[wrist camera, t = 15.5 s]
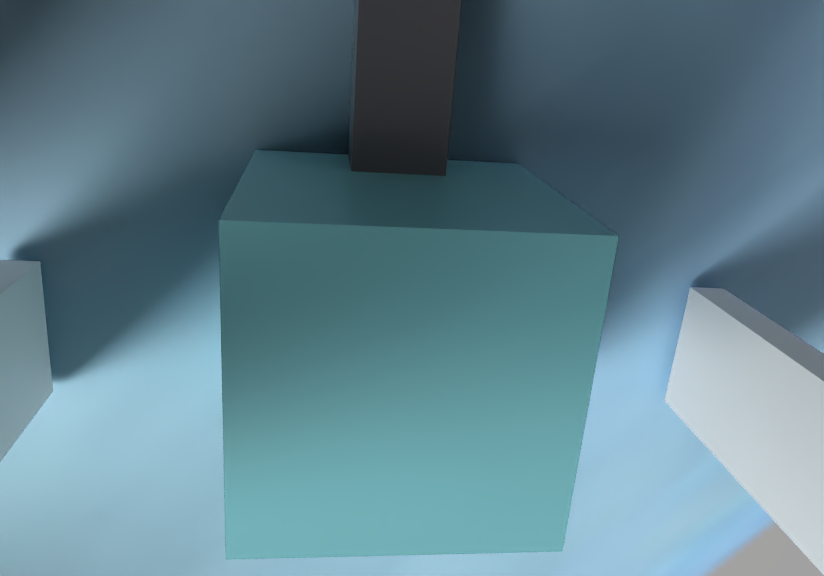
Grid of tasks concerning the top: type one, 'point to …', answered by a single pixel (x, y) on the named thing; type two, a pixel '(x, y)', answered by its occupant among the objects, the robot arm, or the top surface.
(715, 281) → the top surface
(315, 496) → the teal and grey bar
